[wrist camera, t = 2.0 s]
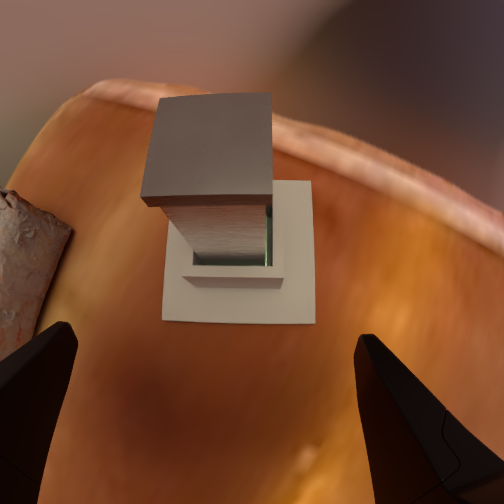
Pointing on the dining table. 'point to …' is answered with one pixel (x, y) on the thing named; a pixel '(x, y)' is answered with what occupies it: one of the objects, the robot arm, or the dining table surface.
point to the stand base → (249, 271)
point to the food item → (25, 266)
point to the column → (214, 173)
